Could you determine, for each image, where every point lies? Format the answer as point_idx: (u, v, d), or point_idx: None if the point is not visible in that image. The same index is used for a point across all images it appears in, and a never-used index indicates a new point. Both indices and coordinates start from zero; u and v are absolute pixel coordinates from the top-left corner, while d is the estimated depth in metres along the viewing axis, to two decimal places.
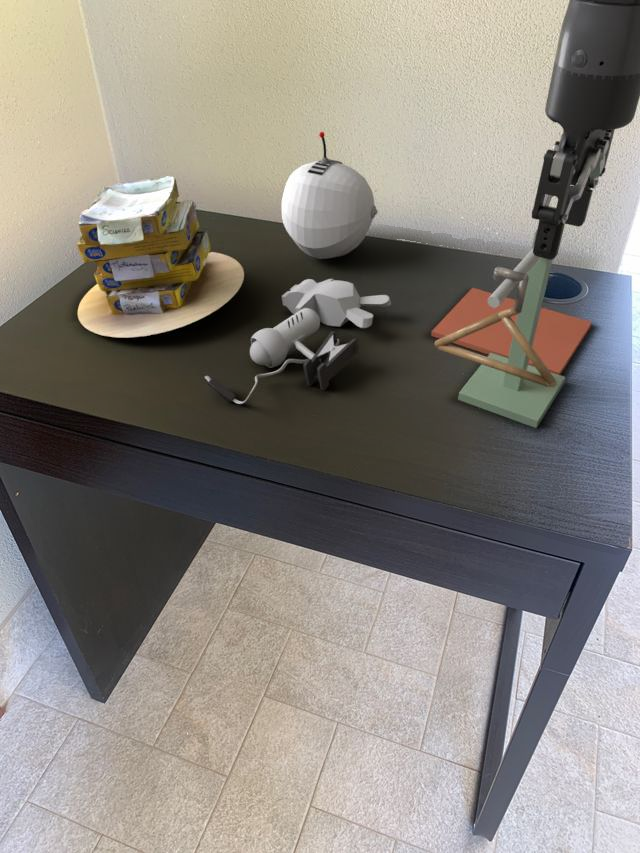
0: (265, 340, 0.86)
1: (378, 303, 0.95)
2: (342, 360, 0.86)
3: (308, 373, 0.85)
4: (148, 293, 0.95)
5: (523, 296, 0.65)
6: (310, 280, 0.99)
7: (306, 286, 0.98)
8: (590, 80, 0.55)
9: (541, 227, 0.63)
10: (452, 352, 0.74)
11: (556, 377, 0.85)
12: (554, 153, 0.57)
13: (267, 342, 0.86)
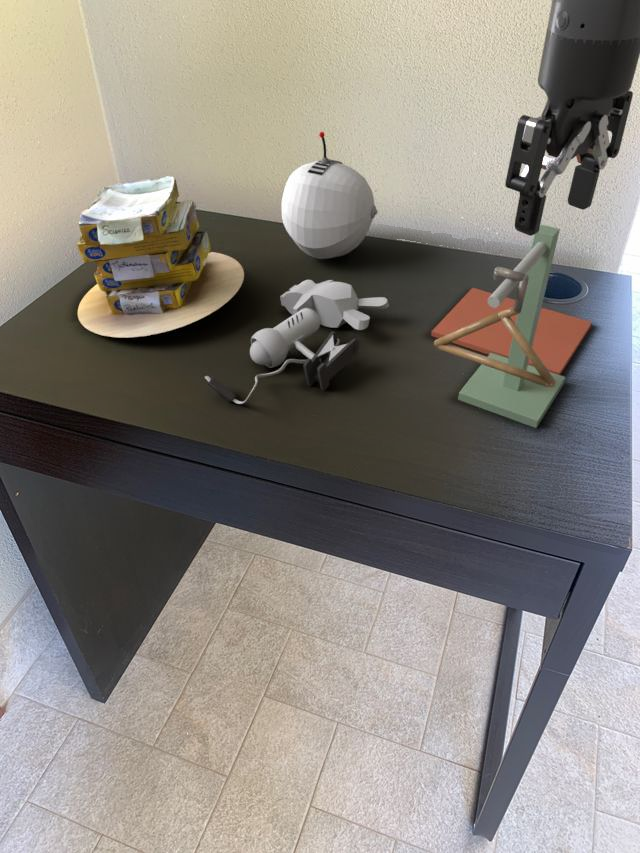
0: (265, 340, 0.86)
1: (376, 305, 0.94)
2: (342, 360, 0.86)
3: (308, 373, 0.85)
4: (148, 293, 0.95)
5: (523, 296, 0.66)
6: (309, 281, 0.99)
7: (305, 286, 0.97)
8: (571, 44, 0.53)
9: (520, 199, 0.61)
10: (451, 352, 0.74)
11: (556, 377, 0.85)
12: (527, 119, 0.55)
13: (267, 342, 0.86)
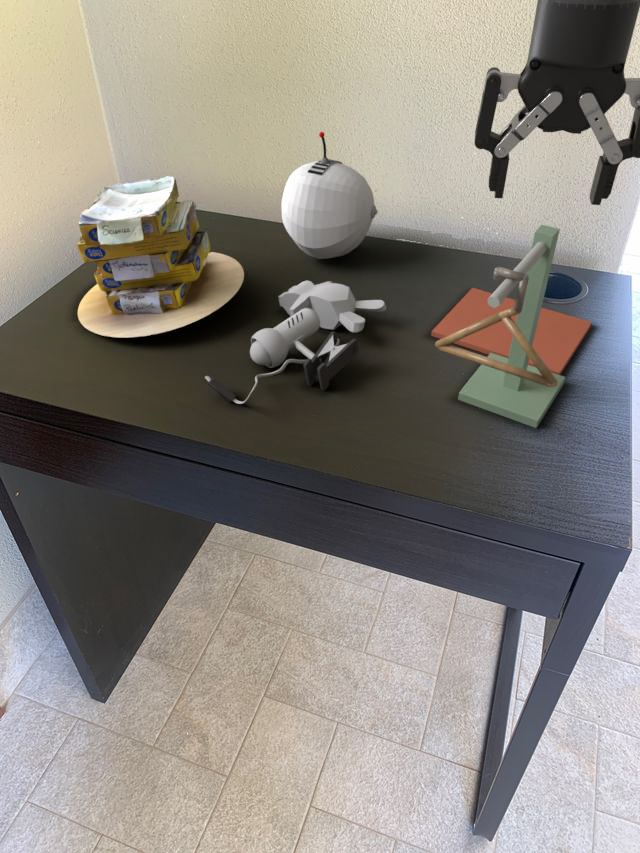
0: (265, 340, 0.86)
1: (372, 308, 0.94)
2: (342, 360, 0.86)
3: (308, 373, 0.85)
4: (148, 293, 0.95)
5: (523, 296, 0.65)
6: (308, 282, 0.99)
7: (303, 287, 0.97)
8: (538, 1, 0.52)
9: (492, 157, 0.61)
10: (453, 353, 0.74)
11: (556, 377, 0.85)
12: (491, 70, 0.57)
13: (267, 342, 0.86)
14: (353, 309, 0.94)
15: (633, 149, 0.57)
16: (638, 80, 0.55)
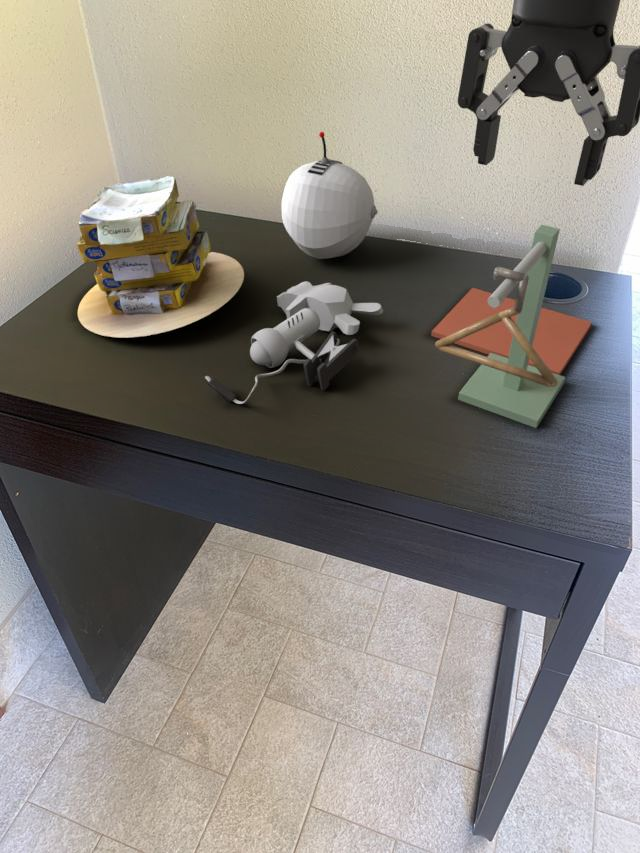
0: (265, 340, 0.86)
1: (369, 311, 0.93)
2: (342, 360, 0.86)
3: (308, 373, 0.85)
4: (148, 293, 0.95)
5: (523, 296, 0.65)
6: (306, 282, 0.98)
7: (301, 288, 0.97)
8: None
9: None
10: (453, 353, 0.74)
11: (556, 377, 0.85)
12: (481, 26, 0.55)
13: (267, 342, 0.86)
14: (349, 311, 0.94)
15: (616, 125, 0.52)
16: (626, 47, 0.50)
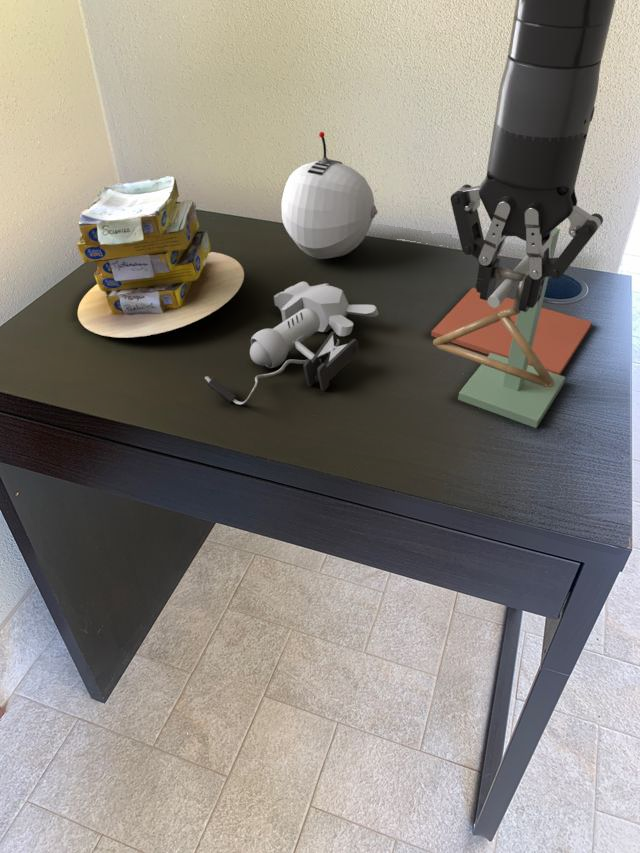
0: (265, 340, 0.86)
1: (363, 312, 0.93)
2: (342, 360, 0.86)
3: (308, 373, 0.85)
4: (148, 293, 0.95)
5: None
6: (304, 283, 0.98)
7: (297, 288, 0.97)
8: None
9: None
10: (451, 351, 0.74)
11: (556, 377, 0.85)
12: (460, 188, 0.64)
13: (267, 342, 0.86)
14: (344, 313, 0.94)
15: (551, 268, 0.61)
16: (583, 214, 0.58)
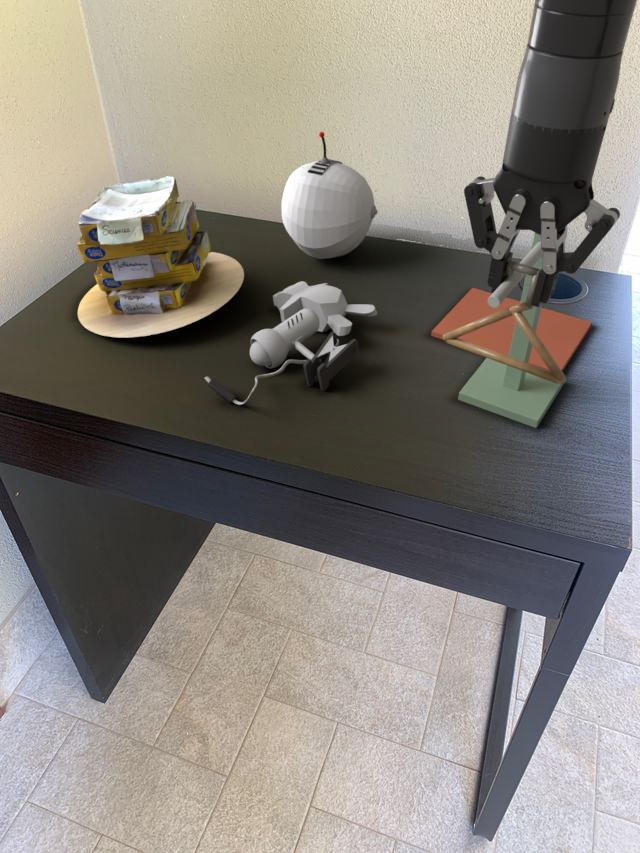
0: (265, 341, 0.86)
1: (362, 312, 0.93)
2: (342, 360, 0.86)
3: (308, 373, 0.85)
4: (148, 293, 0.95)
5: None
6: (303, 282, 0.98)
7: (296, 288, 0.97)
8: None
9: None
10: (460, 346, 0.73)
11: None
12: None
13: (267, 343, 0.86)
14: (343, 312, 0.94)
15: (566, 262, 0.60)
16: (600, 208, 0.57)
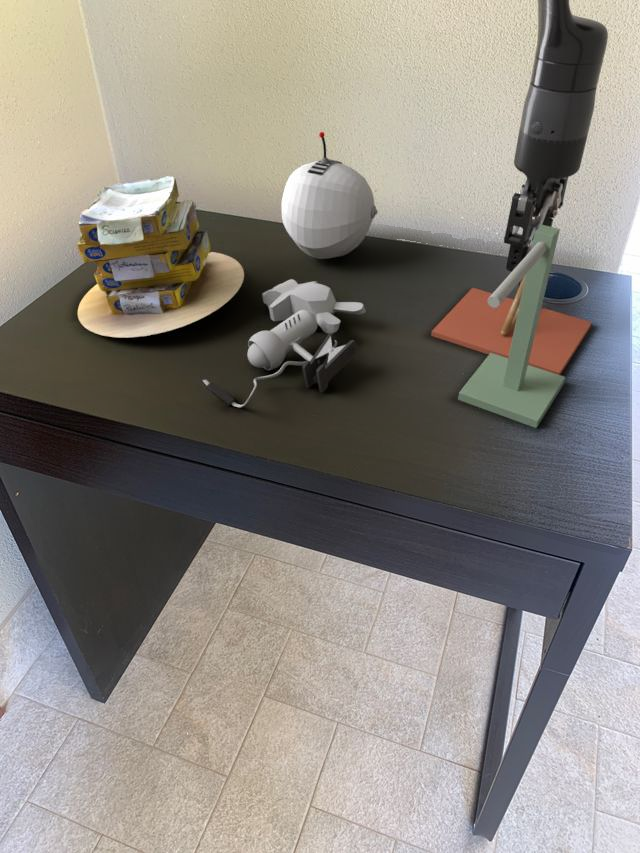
0: (263, 343, 0.86)
1: (351, 310, 0.94)
2: (341, 361, 0.85)
3: (307, 375, 0.84)
4: (148, 293, 0.95)
5: None
6: (292, 280, 0.99)
7: (286, 286, 0.98)
8: (545, 143, 0.75)
9: (511, 249, 0.83)
10: (512, 326, 0.94)
11: (556, 377, 0.85)
12: (519, 196, 0.77)
13: (265, 345, 0.86)
14: (332, 310, 0.94)
15: (560, 204, 0.88)
16: None
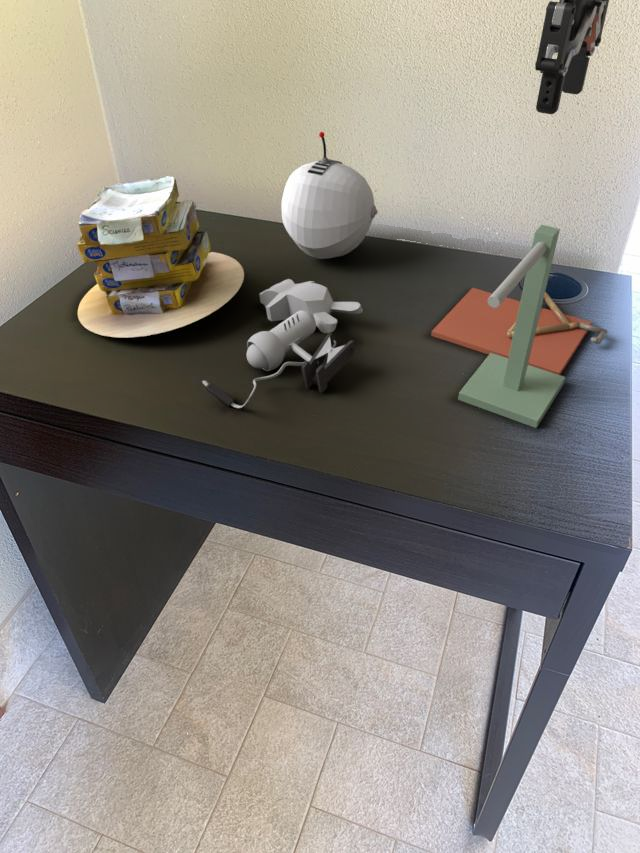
0: (262, 343, 0.85)
1: (348, 310, 0.94)
2: (340, 362, 0.85)
3: (306, 375, 0.84)
4: (148, 293, 0.95)
5: None
6: (289, 280, 0.99)
7: (283, 286, 0.98)
8: None
9: (543, 81, 0.70)
10: None
11: (556, 377, 0.85)
12: (555, 3, 0.65)
13: (264, 345, 0.85)
14: (329, 310, 0.94)
15: (597, 40, 0.75)
16: None
